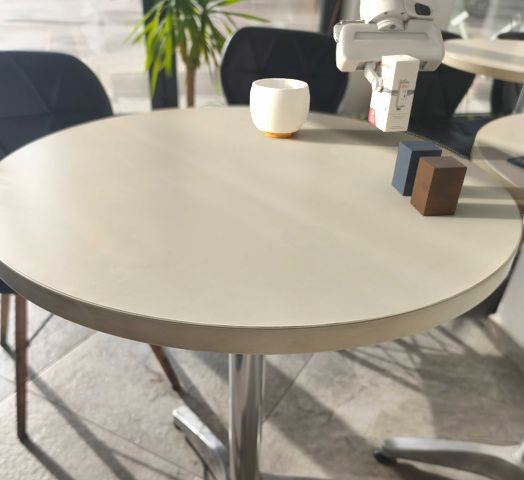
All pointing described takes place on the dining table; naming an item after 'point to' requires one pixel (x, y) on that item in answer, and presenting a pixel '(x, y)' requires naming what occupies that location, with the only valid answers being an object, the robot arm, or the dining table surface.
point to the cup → (279, 105)
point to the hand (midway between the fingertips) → (394, 89)
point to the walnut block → (438, 185)
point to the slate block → (411, 163)
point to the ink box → (394, 93)
